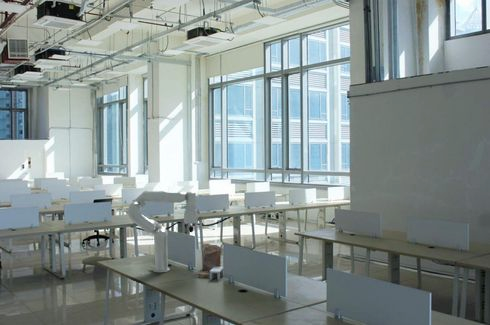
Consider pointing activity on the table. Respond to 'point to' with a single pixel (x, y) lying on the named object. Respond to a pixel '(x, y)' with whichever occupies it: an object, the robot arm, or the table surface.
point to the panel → (206, 274)
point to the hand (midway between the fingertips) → (191, 231)
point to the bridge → (217, 270)
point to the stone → (210, 256)
